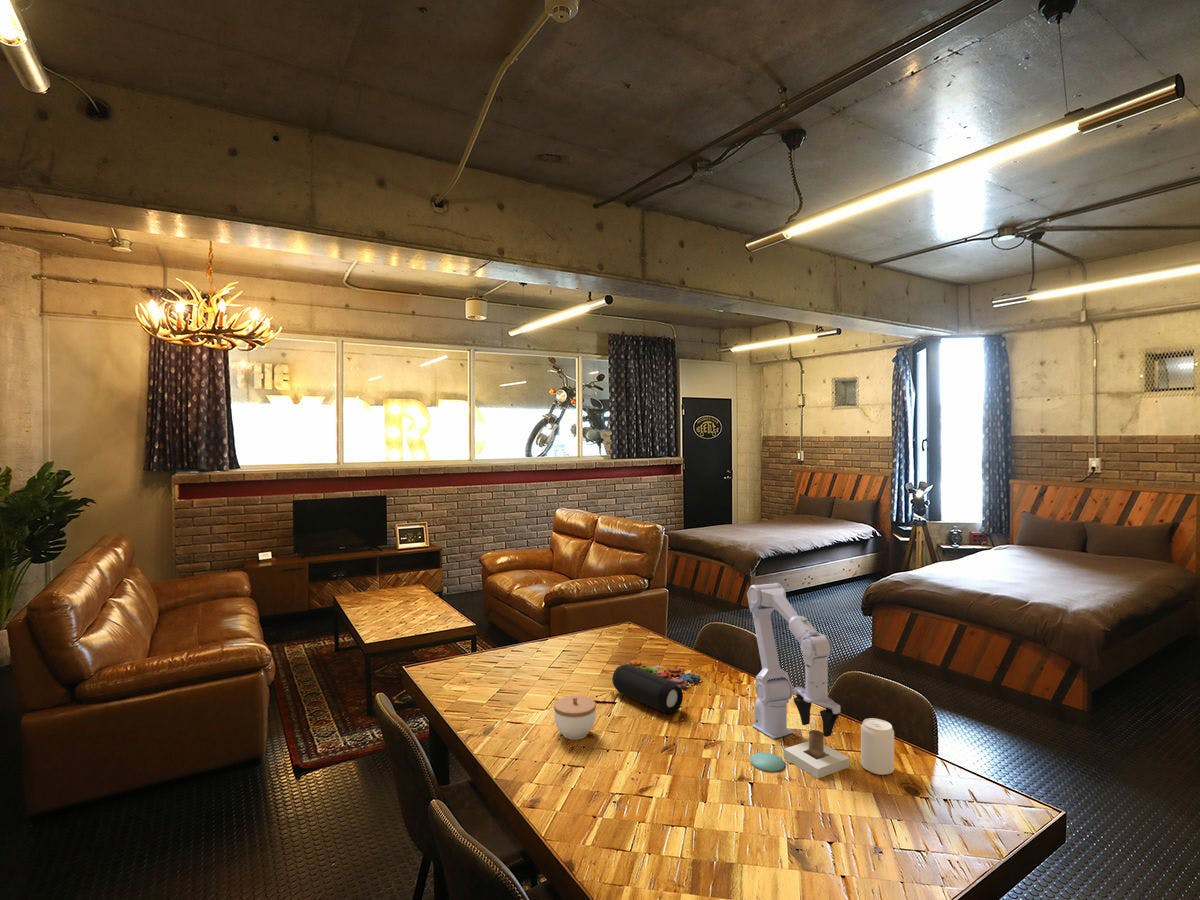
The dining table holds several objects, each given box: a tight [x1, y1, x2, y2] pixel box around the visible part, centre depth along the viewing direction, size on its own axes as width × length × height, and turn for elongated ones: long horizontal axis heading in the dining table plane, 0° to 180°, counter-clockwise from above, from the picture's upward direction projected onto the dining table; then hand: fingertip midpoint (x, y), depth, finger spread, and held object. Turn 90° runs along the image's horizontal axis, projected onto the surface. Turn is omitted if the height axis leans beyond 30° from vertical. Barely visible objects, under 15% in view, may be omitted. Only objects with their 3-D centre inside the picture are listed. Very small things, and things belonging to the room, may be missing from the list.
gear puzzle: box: [624, 659, 702, 691], centre depth 232 cm, size 31×16×4 cm, turn 45°
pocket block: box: [783, 740, 850, 780], centre depth 168 cm, size 12×12×2 cm
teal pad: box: [750, 752, 786, 773], centre depth 168 cm, size 9×9×1 cm
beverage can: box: [860, 717, 895, 776], centre depth 165 cm, size 8×8×12 cm
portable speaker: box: [612, 663, 684, 714], centre depth 207 cm, size 26×10×10 cm, turn 41°
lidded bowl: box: [553, 695, 597, 741], centre depth 184 cm, size 13×13×11 cm
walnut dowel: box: [808, 729, 825, 760], centre depth 168 cm, size 4×4×8 cm
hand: (816, 729), depth 168 cm, fingers open, 7 cm apart
